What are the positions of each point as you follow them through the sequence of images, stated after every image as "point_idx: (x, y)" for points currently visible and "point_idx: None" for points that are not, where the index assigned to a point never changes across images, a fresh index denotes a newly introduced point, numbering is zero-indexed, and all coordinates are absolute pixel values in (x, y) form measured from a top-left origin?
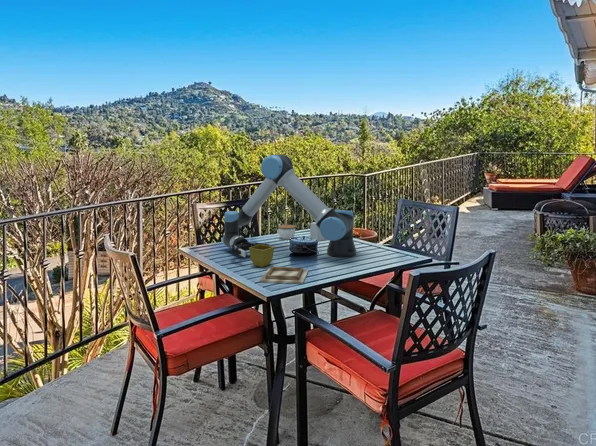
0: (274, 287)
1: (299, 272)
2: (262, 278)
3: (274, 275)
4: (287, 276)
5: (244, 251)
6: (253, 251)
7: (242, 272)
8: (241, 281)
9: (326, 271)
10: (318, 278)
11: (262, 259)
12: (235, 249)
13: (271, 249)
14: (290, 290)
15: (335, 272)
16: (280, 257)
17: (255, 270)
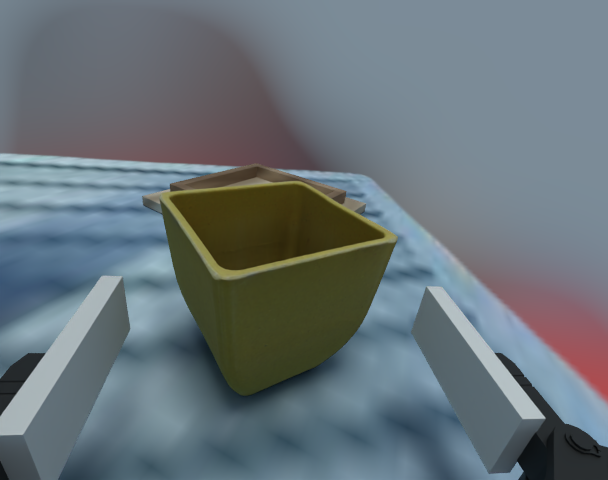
0: (334, 186)
1: (226, 172)
2: (352, 207)
3: (317, 183)
4: (283, 172)
5: (435, 288)
6: (355, 239)
7: (421, 298)
8: (426, 233)
9: (82, 189)
10: (178, 176)
11: (296, 249)
12: (594, 446)
13: (206, 202)
14: (305, 171)
15: (72, 178)
16: None
17: None
